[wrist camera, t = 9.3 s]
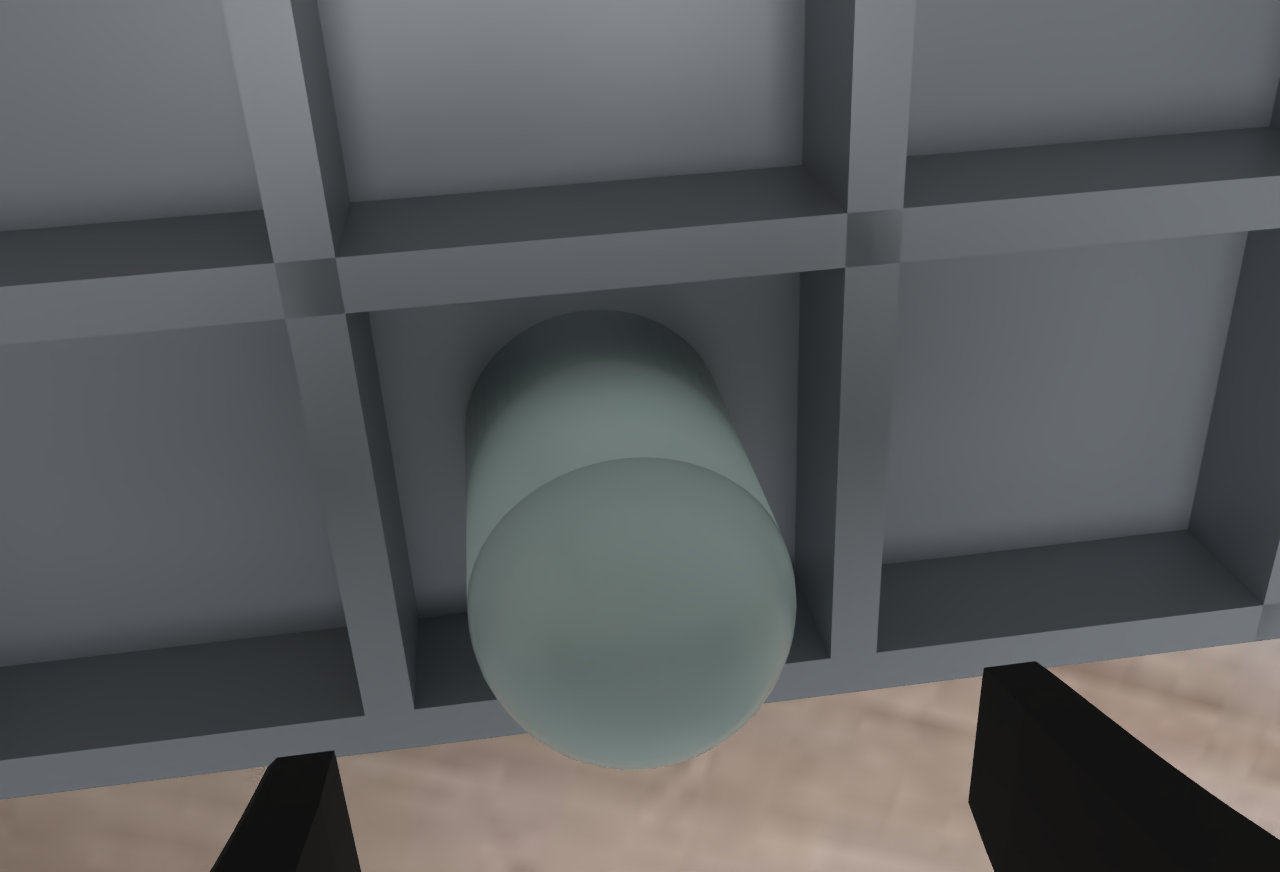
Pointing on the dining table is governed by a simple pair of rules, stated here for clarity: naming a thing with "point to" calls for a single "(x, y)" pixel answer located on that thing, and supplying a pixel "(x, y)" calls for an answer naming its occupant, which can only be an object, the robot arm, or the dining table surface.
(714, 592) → the sage green capsule
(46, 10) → the tray
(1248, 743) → the dining table surface
